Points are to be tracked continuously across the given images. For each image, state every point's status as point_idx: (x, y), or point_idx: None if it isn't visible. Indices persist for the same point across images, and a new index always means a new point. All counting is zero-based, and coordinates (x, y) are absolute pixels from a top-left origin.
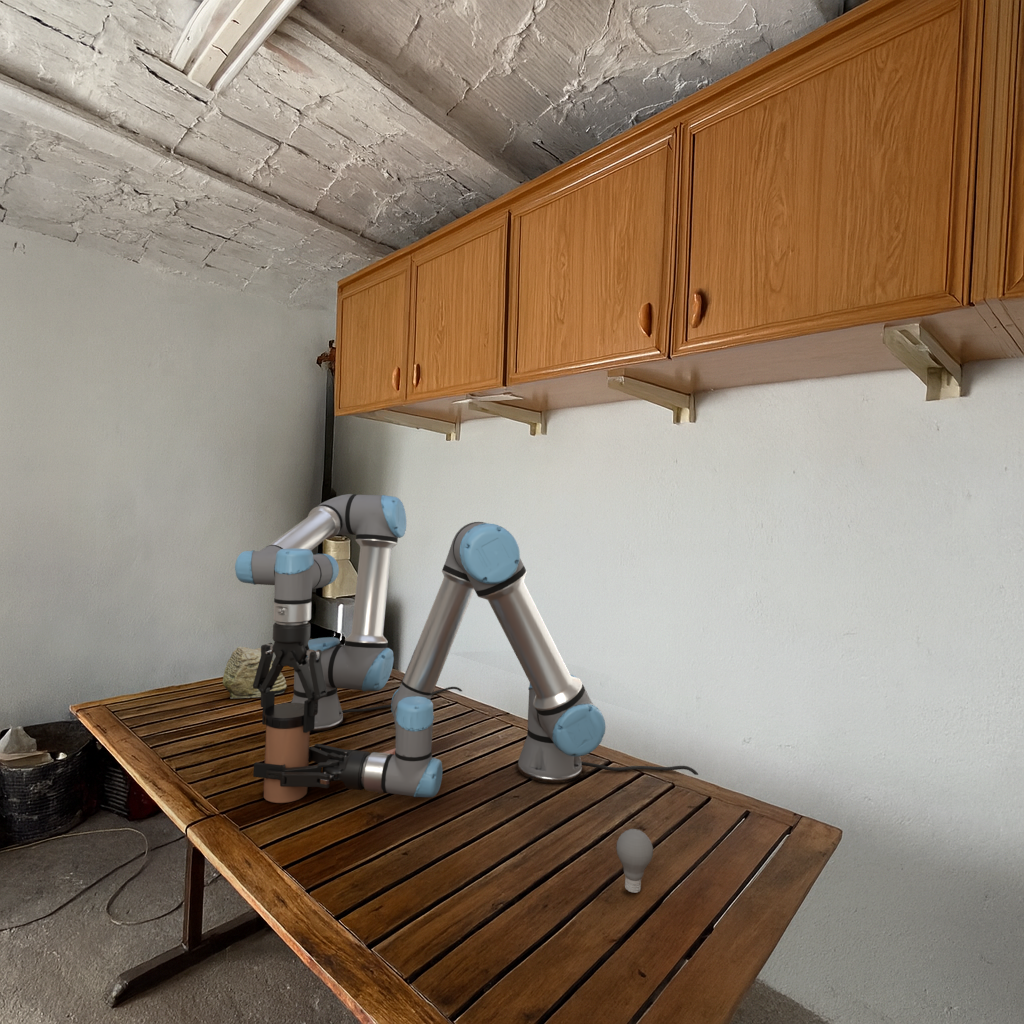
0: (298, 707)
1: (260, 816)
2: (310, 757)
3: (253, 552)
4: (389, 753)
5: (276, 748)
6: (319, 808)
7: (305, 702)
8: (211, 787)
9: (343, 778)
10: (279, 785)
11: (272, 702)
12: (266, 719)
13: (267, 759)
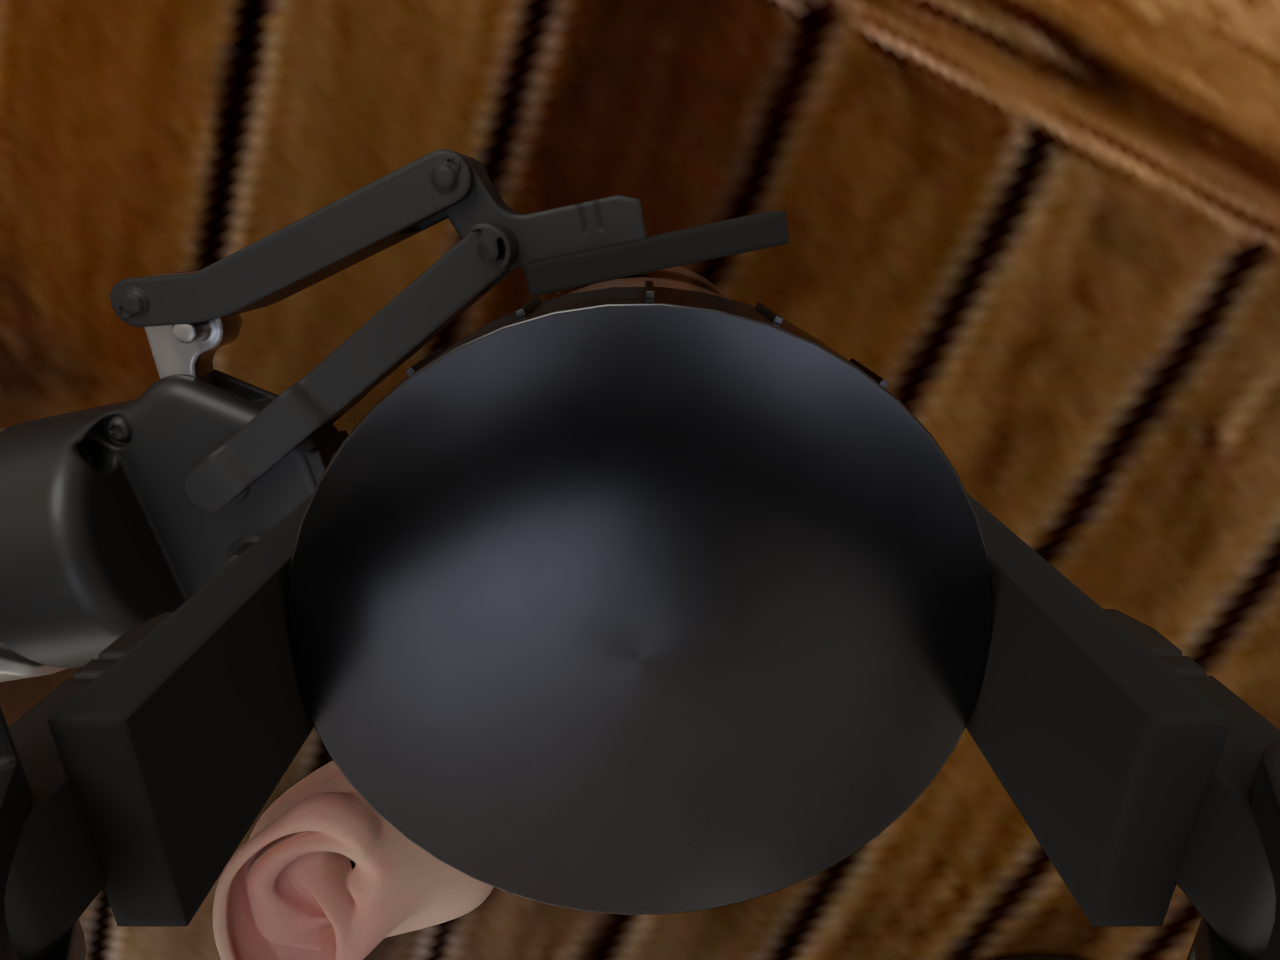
0: (593, 787)
1: (578, 84)
2: None
3: None
4: (359, 883)
5: None
6: (352, 315)
7: (106, 703)
8: (1090, 261)
9: (125, 401)
10: None
11: (1002, 735)
12: (786, 325)
13: (706, 291)
